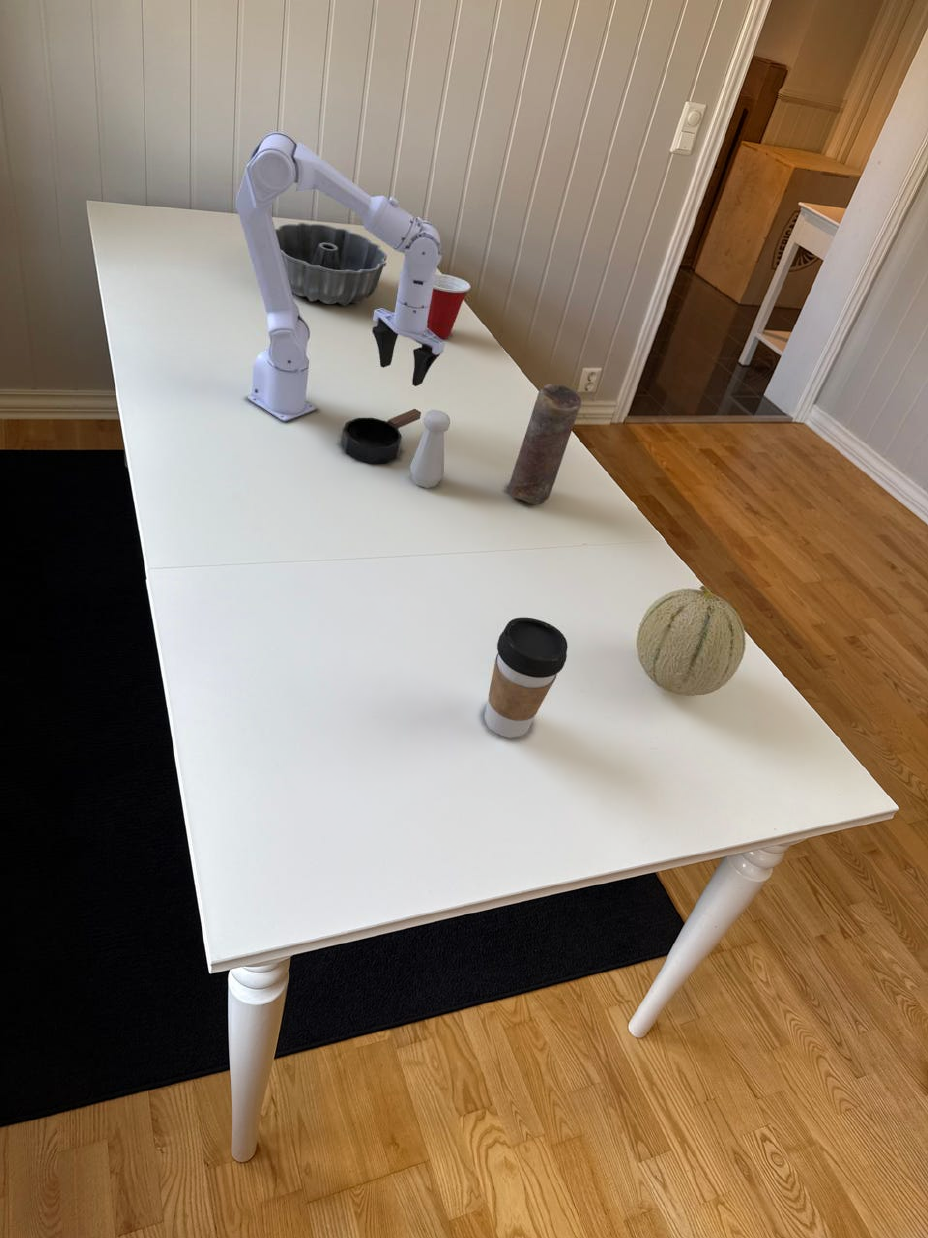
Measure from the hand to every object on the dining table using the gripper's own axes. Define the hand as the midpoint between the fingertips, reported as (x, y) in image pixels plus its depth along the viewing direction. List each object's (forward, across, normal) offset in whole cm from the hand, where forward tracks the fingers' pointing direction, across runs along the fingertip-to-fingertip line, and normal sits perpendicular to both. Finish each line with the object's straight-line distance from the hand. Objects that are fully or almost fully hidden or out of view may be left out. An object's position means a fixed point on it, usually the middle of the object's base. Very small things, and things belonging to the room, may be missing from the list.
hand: (401, 374), depth 156 cm
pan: (+10, -4, +6) cm, 12 cm away
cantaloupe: (+10, -70, +19) cm, 73 cm away
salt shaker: (+10, -16, +10) cm, 21 cm away
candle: (+10, -30, -2) cm, 32 cm away
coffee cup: (+10, -58, +44) cm, 73 cm away
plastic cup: (+10, +21, -39) cm, 45 cm away
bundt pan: (+10, +49, -32) cm, 59 cm away
